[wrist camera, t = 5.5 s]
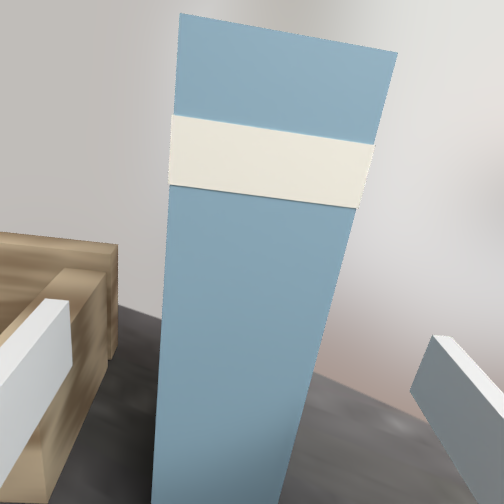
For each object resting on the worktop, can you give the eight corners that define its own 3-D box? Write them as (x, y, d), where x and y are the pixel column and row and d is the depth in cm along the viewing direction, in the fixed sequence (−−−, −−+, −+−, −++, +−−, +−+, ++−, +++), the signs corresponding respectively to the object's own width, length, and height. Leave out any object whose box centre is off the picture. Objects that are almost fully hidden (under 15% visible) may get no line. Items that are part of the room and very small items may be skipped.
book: (264, 560, 19) (400, 52, 10) (146, 558, 18) (177, 12, 9) (252, 409, 28) (317, 73, 19) (173, 404, 28) (202, 54, 19)
